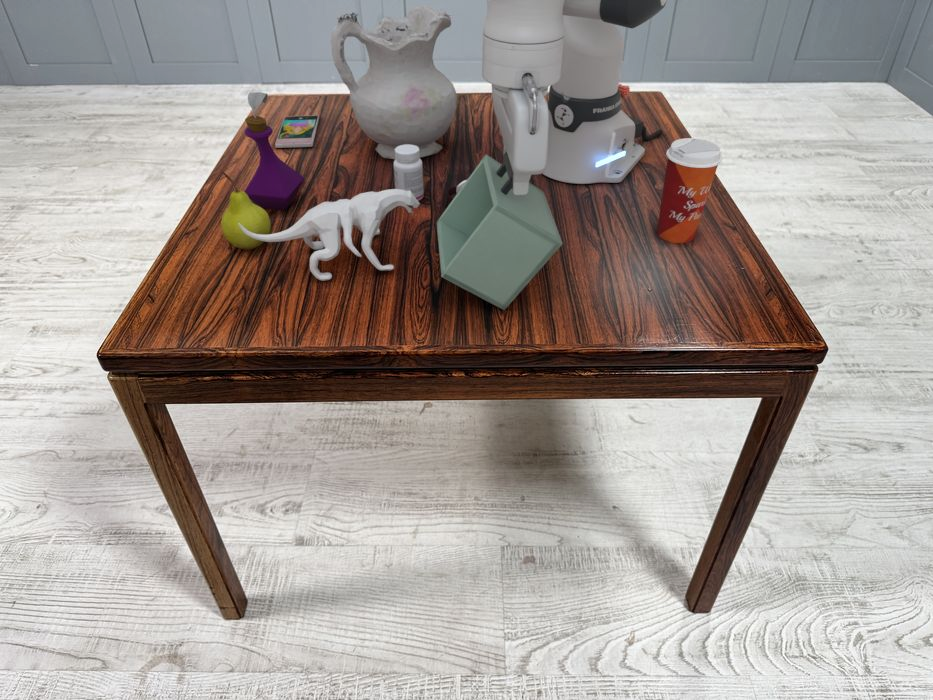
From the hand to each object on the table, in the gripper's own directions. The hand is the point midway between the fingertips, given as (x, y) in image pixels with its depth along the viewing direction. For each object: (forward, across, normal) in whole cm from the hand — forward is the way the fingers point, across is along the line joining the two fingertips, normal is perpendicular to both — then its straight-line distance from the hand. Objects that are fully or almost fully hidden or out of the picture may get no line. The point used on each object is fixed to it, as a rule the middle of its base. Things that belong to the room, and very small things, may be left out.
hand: (514, 177), depth 82 cm
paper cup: (+15, +11, -28) cm, 33 cm away
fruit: (+16, +12, +38) cm, 43 cm away
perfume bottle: (+16, +26, +36) cm, 46 cm away
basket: (+13, 0, +6) cm, 14 cm away
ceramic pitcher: (+16, +46, +15) cm, 51 cm away
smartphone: (+16, +55, +36) cm, 68 cm away
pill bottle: (+16, +26, +14) cm, 33 cm away
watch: (+16, +23, +4) cm, 28 cm away
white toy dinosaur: (+16, +7, +24) cm, 30 cm away
